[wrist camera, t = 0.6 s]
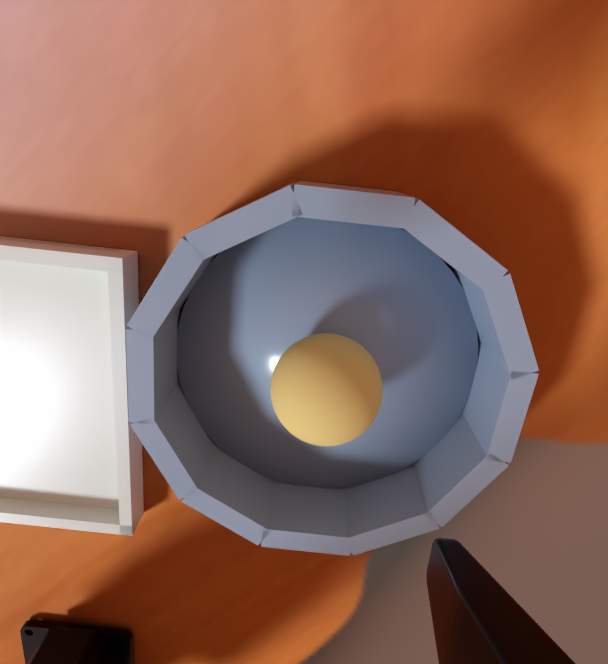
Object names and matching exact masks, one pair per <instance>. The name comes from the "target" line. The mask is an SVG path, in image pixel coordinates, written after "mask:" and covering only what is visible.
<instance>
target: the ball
mask: <svg viewBox="0 0 608 664" xmlns="http://www.w3.org/2000/svg"><path fill="white" fill-rule="evenodd" d="M270 394H271V401H272V405H273V408H274V411H275V413H276V415H277V417H278V419H279V420H280V422H281V423H282V425H283V426H284V427H285V428H286V429H287V430H288V431H289V432H290V433H291V434H292V435H294V436H295V437H297V438H298V439H300V440H302V441H304V442H307V443H309V444H313V445H318V446H336V445H341V444H344V443H347V442H350V441H352V440H354V439H355V438H357V437H359V436H360V435H361V434H363V433H364V432H365V431H366V430H367V429H368V428H369V427H370V425H371V424H372V423H373V421H374V420H375V418H376V416H377V414H378V411H379V409H380V406H381V402H382V394H383V385H382V379H381V374H380V371H379V369H378V366H377V364H376V363H375V361H374V359H373V358H372V356H371V355H370V354H369V353H368V352H367V351H366V349H365V348H364V347H362V346H361V345H360V344H359V343H357V342H355V341H354V340H352V339H350V338H347V337H345V336H341V335H338V334H331V333H322V334H315V335H311V336H308V337H305V338H303V339H301V340H299V341H297V342H296V343H294V344H293V345H291V346H290V347H289V348H288V349H287V350H286V351H285V352H284V353H283V355H282V356H281V357H280V359H279V360H278V362H277V364H276V366H275V368H274V371H273V374H272V378H271V386H270Z"/></svg>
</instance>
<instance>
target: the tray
mask: <svg viewBox="0 0 608 664" xmlns="http://www.w3.org/2000/svg"><path fill="white" fill-rule="evenodd" d="M138 306H139V290H138V251H133V250H123V249H114V248H105V247H96V246H87V245H78V244H69V243H60V242H51V241H41V240H32V239H23V238H14V237H5V236H0V522H5V523H15V524H24V525H34V526H43V527H53V528H63V529H72V530H82V531H91V532H101V533H110V534H120V535H129V536H132V535H133V533H134V531H135V529H136V527H137V525H138V523H139V521H140V519H141V517H142V515H143V513H144V500H143V458H142V443H141V441H140V440H139V438H138V437H137V435H136V434H135V432H134V430H133V429H132V427H131V426H130V424H131V423H132V422H129V409H128V381H127V352H126V328H127V327H128V326H127V324H128V322H129V321H130V319H131V318H132V316H133V314H134V313H135V311H136V310H137V308H138Z"/></svg>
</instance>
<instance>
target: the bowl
mask: <svg viewBox="0 0 608 664" xmlns="http://www.w3.org/2000/svg"><path fill="white" fill-rule="evenodd" d="M402 228H403V229H402ZM219 252H220V253H219ZM218 253H219V254H218ZM217 254H218V255H217ZM216 255H217V256H216ZM442 259H443V260H444V261H445V262H447V263H448V264H449V265H450V266H452V268H453V271H454V273H453V272H452V271H451V270H450V269H449V267H448V266H447V265H446V264H445V263H444V261H443V260H442ZM507 271H508V270H507V269H506V268H504V267H503V266H502V265H501V264H499V263H498V262H497V261H496V260H494V259H493V258H492V257H491V256H489V255H488V254H487V253H486V252H485V251H483V250H482V249H481V248H480V247H478V246H477V245H476V244H475V243H473V242H472V241H471V240H470V239H468V238H467V237H466V236H465V235H463V234H462V233H461V232H460V231H458V230H457V229H456V228H455V227H453V226H452V225H451V224H450V223H448V222H447V221H446V220H445V219H443V218H442V217H441V216H440V215H438V214H437V213H436V212H435V211H433V210H432V209H431V208H430V207H428V206H427V205H426V204H425V203H423V202H422V201H421V200H420V199H417V198H415V197H412V196H409V195H406V194H403V193H400V192H397V191H390V190H381V189H372V188H363V187H354V186H345V185H336V184H327V183H318V182H309V181H300V180H299V181H298V182H297V183H296V181H295V182H293V183H291V184H289V185H286V186H284V187H282V188H280V189H278V190H276V191H274V192H272V193H269V194H267V195H265V196H263V197H261V198H259V199H257V200H255V201H252V202H250V203H248V204H246V205H244V206H242V207H240V208H238V209H235V210H233V211H231V212H229V213H227V214H225V215H223V216H221V217H218V218H216V219H214V220H212V221H210V222H208V223H206V224H204V225H202V226H200V227H198V228H196V229H194V230H193V231H191V232H189V233H187V234H185V236H183V237H181V239H180V240H179V242H178V244H177V245H176V247H175V248H174V250H173V252H172V253H171V255H170V256H169V258H168V260H167V261H166V263H165V265H164V266H163V268H162V269H161V271H160V273H159V274H158V276H157V277H156V279H155V281H154V282H153V284H152V285H151V287H150V289H149V290H148V292H147V293H146V295H145V297H144V298H143V300H142V302H141V303H140V305H139V306H138V308H137V310H136V311H135V313H134V314H133V316H132V318H131V319H130V321H129V322H128V324H127V326H128V327H127V328H126V352H127V381H128V409H129V422H132V423H131V424H130V426H131V427H132V429H133V430H134V432H135V434H136V435H137V437H138V438H139V440H140V441H141V443H142V444H143V446H144V447H145V449H146V450H147V452H148V453H149V455H150V456H151V458H152V459H153V461H154V462H155V464H156V466H157V467H158V469H159V470H160V472H161V473H162V475H163V476H164V478H165V479H166V481H167V482H168V484H169V485H170V487H171V488H172V490H173V491H174V493H175V494H176V496H177V498H178V499H181V498H182V501H181V502H183V503H184V504H186V505H188V506H190V507H191V508H193V509H195V510H197V511H198V512H200V513H202V514H204V515H205V516H207V517H209V518H211V519H212V520H214V521H216V522H217V523H219V524H221V525H223V526H224V527H226V528H228V529H230V530H231V531H233V532H235V533H237V534H238V535H240V536H242V537H244V538H245V539H247V540H249V541H251V542H252V543H254V544H256V545H259V544H260V543H261V547H268V548H278V549H288V550H297V551H307V552H316V553H326V554H335V555H345V556H350V553H351V552H352V554H353V556H354V555H357V554H360V553H364V552H367V551H370V550H373V549H377V548H380V547H383V546H386V545H389V544H393V543H396V542H399V541H402V540H405V539H409V538H412V537H415V536H418V535H421V534H425V533H428V532H431V531H434V530H438V529H439V526H441V527H443V526H444V525H445V524H446V523H447V522H449V521H450V520H451V519H452V518H453V517H454V516H455V515H456V514H457V513H458V512H459V511H460V510H461V509H463V508H464V507H465V506H466V505H467V504H468V503H469V502H470V501H471V500H472V499H473V498H475V497H476V496H477V495H478V494H479V493H480V492H481V491H482V490H483V489H484V488H485V487H486V486H487V485H489V484H490V483H491V482H492V481H493V480H494V479H495V478H496V477H497V476H498V475H499V474H501V473H502V472H503V470H505V469H506V468H507V467H508V466H509V465H508V463H511V461H512V458H513V454H514V451H515V448H516V445H517V442H518V439H519V436H520V432H521V429H522V426H523V423H524V420H525V417H526V413H527V410H528V407H529V404H530V401H531V398H532V394H533V391H534V388H535V385H536V382H537V379H538V375H539V373H538V372H537V371H539V368H538V365H537V362H536V358H535V355H534V352H533V348H532V345H531V342H530V338H529V335H528V332H527V328H526V325H525V321H524V318H523V315H522V311H521V308H520V305H519V301H518V298H517V295H516V291H515V288H514V285H513V281H512V278H511V275H510V273H508V272H507ZM454 274H455V275H454ZM185 302H186V303H185ZM184 304H185V306H184V308H183V305H184ZM322 333H331V334H338V335H341V336H345V337H347V338H350V339H352V340H354V341H355V342H357V343H359V344H360V345H361V346H362V347H364V348H365V349H366V351H367V352H368V353H369V354H370V355H371V356H372V358H373V359H374V361H375V363H376V364H377V366H378V369H379V371H380V374H381V379H382V385H383V394H382V402H381V406H380V409H379V411H378V414H377V416H376V418H375V420H374V421H373V423H372V424H371V425H370V427H369V428H368V429H367V430H366V431H365V432H364V433H363V434H361V435H360V436H359V437H357V438H355V439H354V440H352V441H350V442H347V443H344V444H341V445H336V446H318V445H313V444H309V443H307V442H304V441H302V440H300V439H298V438H297V437H295V436H294V435H292V434H291V433H290V432H289V431H288V430H287V429H286V428H285V427H284V426H283V425H282V423H281V422H280V420H279V419H278V417H277V415H276V413H275V411H274V408H273V405H272V401H271V394H270V386H271V378H272V374H273V371H274V368H275V366H276V364H277V362H278V360H279V359H280V357H281V356H282V355H283V353H284V352H285V351H286V350H287V349H288V348H289V347H290V346H291V345H293V344H294V343H296V342H297V341H299V340H301V339H303V338H305V337H308V336H311V335H315V334H322ZM507 462H508V463H507ZM438 525H439V526H438Z"/></svg>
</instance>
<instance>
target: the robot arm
mask: <svg viewBox="0 0 608 664" xmlns="http://www.w3.org/2000/svg"><path fill="white" fill-rule="evenodd" d="M427 587H428V593H429V600H430V607H431V614H432V620H433V627H434V633H435V640H436V647H437V653H438V660H439V664H575V663H574V662H573V661H572V659H571V658H570V657H569V656H568V655H567V654H566V653H565V652H564V651H563V650H562V649H561V648H560V647H559V646H558V645H557V644H556V643H555V642H554V641H553V640H552V639H551V638H550V637H549V636H548V634H547V633H546V632H545V631H544V630H543V629H542V628H541V627H540V626H539V625H538V624H537V623H536V622H535V621H534V620H533V619H532V618H531V617H530V616H529V615H528V614H527V613H526V611H525V610H524V609H523V608H522V607H521V606H520V605H519V604H518V603H517V602H516V601H515V600H514V599H513V598H512V597H511V596H510V595H509V594H508V593H507V592H506V590H505V589H504V588H503V587H502V586H501V585H500V584H499V583H498V582H497V581H496V580H495V579H494V578H493V577H492V576H491V575H490V574H489V573H488V572H487V571H486V570H485V569H484V567H482V565H480V563H479V562H478V561H477V560H476V559H475V558H474V557H473V556H472V555H471V554H470V553H469V552H468V551H467V550H466V549H465V548H464V547H463V546H462V544H461V543H460V542H458V541H457V540H454V539H444V538H437V539H435V540H434V542H433V545H432V549H431V554H430V558H429V564H428V568H427ZM20 632H21V638H22V645H23V651H24V657H25V663H26V664H134V649H133V635H132V633H131V632H129V631H128V630H122V629H112V628H103V627H93V626H83V625H74V624H64V623H54V622H45V621H35V620H28V621H26V622H25V624H24V625H23V627H22V628H21V631H20Z"/></svg>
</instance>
